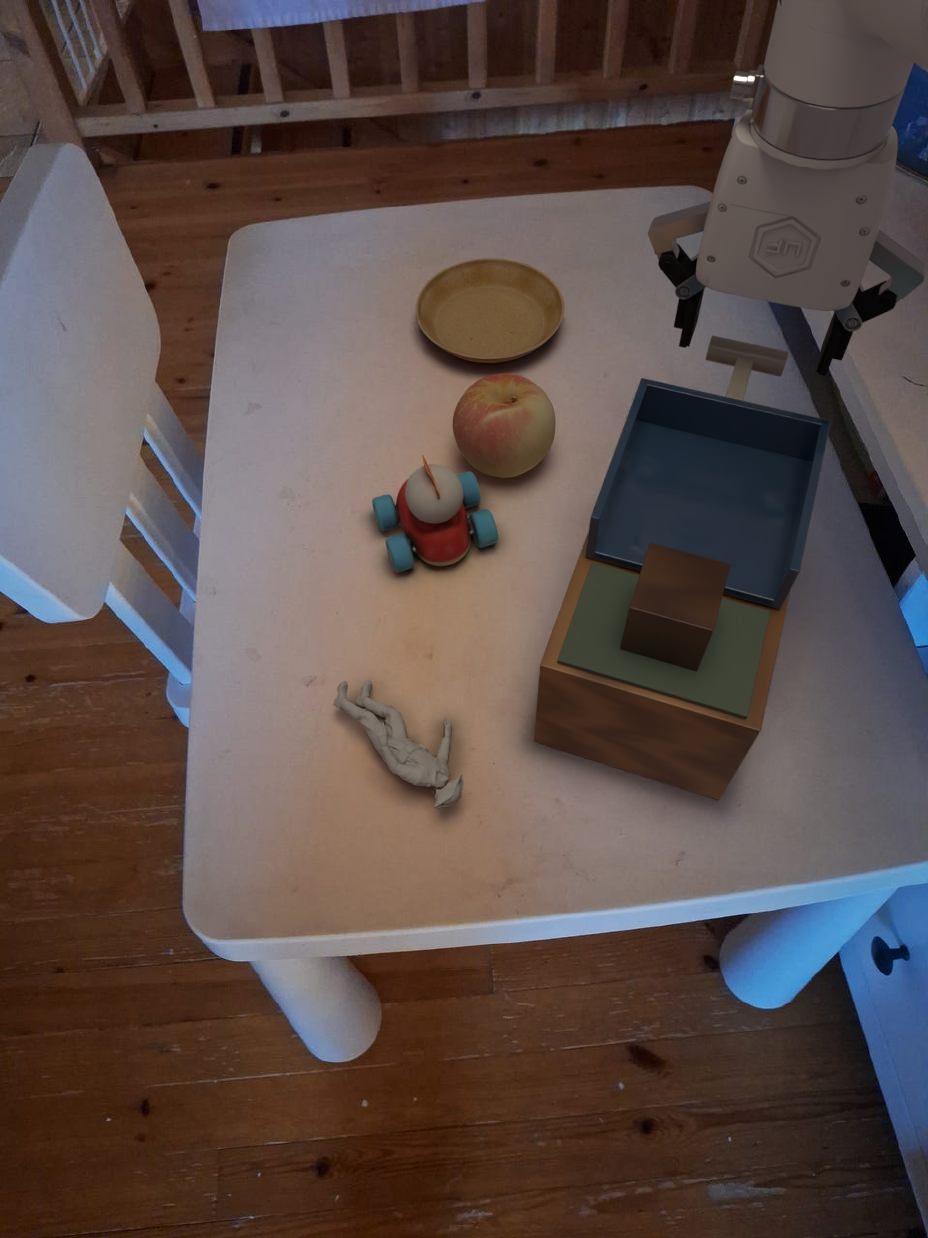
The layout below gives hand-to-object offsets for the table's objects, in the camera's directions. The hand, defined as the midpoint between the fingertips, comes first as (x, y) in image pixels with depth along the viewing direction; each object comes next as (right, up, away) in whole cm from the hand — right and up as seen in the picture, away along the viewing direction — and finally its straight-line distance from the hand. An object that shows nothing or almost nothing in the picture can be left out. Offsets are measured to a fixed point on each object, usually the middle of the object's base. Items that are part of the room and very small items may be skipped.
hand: (754, 348), depth 65 cm
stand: (-5, -21, +7) cm, 23 cm away
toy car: (-23, -12, +14) cm, 30 cm away
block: (-7, -17, -7) cm, 20 cm away
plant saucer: (-18, +10, +27) cm, 34 cm away
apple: (-17, -5, +18) cm, 25 cm away
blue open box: (-3, -9, 0) cm, 10 cm away
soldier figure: (-25, -29, +3) cm, 39 cm away
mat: (-8, -21, -6) cm, 23 cm away
